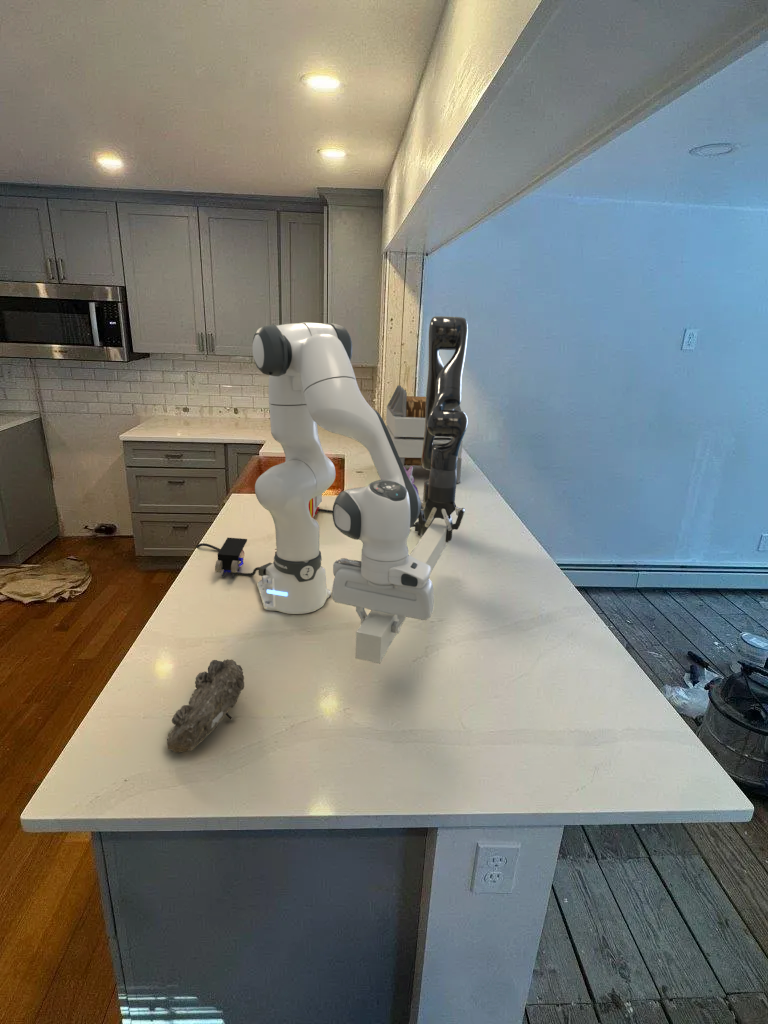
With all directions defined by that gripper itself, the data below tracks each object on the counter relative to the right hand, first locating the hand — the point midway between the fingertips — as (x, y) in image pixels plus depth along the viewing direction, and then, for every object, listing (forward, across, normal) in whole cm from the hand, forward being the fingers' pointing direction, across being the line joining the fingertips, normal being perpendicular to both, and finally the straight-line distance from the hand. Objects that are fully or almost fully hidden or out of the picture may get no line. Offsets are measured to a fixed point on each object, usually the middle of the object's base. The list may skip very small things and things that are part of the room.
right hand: (437, 539), depth 161 cm
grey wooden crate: (+14, -33, +111) cm, 117 cm away
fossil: (+13, -27, -72) cm, 78 cm away
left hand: (-2, 0, -53) cm, 53 cm away
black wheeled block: (+13, -58, -16) cm, 61 cm away
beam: (+1, 0, -27) cm, 27 cm away
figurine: (+14, -26, +67) cm, 73 cm away
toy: (+14, -57, +32) cm, 67 cm away
